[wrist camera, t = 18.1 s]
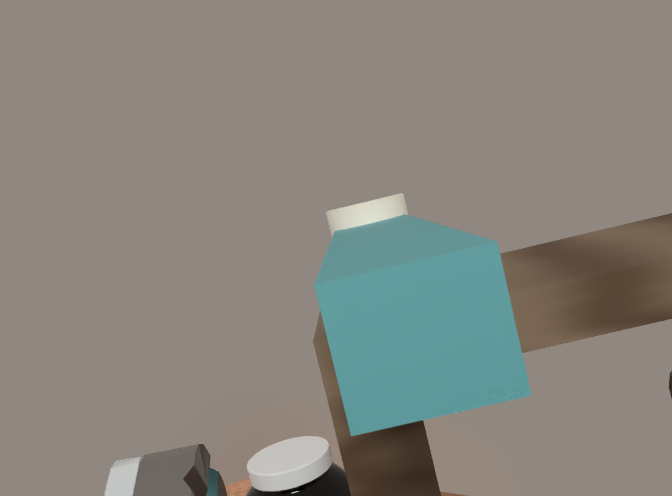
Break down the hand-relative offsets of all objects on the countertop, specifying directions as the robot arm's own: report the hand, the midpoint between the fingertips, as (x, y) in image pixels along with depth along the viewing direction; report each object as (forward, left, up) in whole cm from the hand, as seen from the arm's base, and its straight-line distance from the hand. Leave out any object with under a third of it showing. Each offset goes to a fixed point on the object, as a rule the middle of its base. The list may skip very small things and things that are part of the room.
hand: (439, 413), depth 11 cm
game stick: (0, -12, 0) cm, 12 cm away
